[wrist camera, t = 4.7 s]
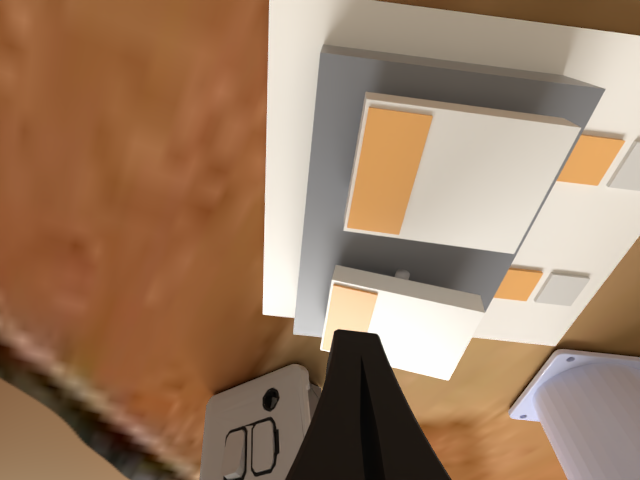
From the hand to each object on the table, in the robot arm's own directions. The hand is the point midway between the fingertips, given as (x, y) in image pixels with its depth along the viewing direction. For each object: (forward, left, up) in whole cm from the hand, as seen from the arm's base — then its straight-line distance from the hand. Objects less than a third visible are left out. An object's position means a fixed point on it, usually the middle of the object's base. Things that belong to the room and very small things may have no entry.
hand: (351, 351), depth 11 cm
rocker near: (-2, -5, -4) cm, 7 cm away
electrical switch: (+3, +17, -9) cm, 19 cm away
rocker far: (-2, +2, -4) cm, 5 cm away
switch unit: (-5, -1, -8) cm, 10 cm away
